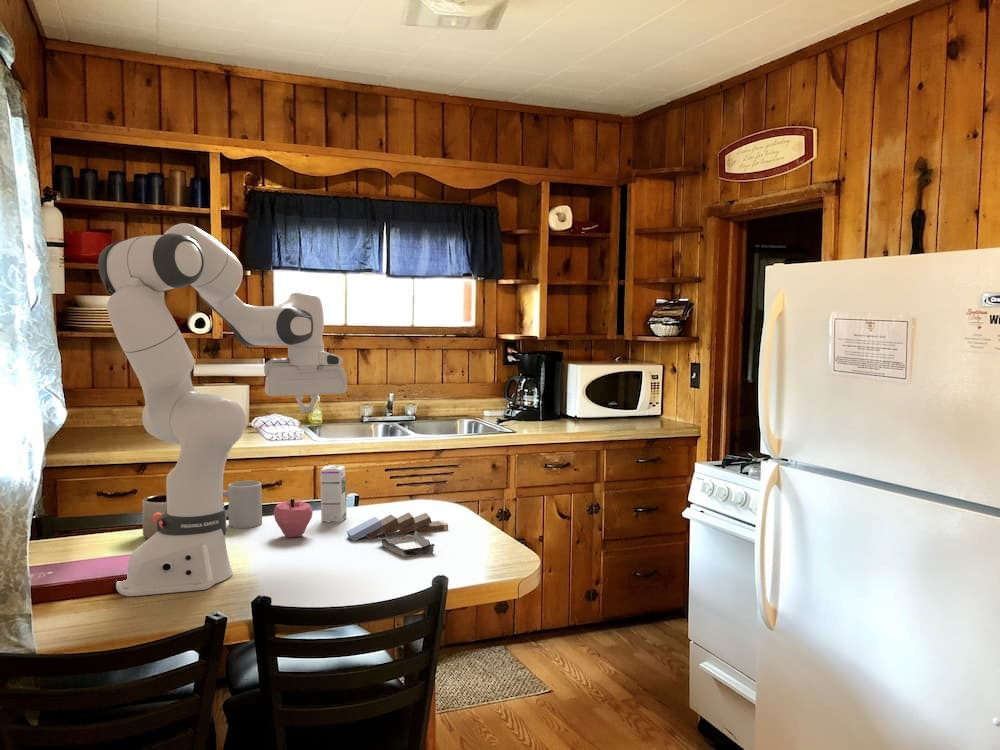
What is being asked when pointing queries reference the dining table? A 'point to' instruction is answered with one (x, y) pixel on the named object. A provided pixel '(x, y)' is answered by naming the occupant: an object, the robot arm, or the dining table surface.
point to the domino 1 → (364, 528)
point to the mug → (244, 504)
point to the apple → (293, 517)
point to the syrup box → (333, 493)
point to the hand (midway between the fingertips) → (306, 412)
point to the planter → (152, 513)
